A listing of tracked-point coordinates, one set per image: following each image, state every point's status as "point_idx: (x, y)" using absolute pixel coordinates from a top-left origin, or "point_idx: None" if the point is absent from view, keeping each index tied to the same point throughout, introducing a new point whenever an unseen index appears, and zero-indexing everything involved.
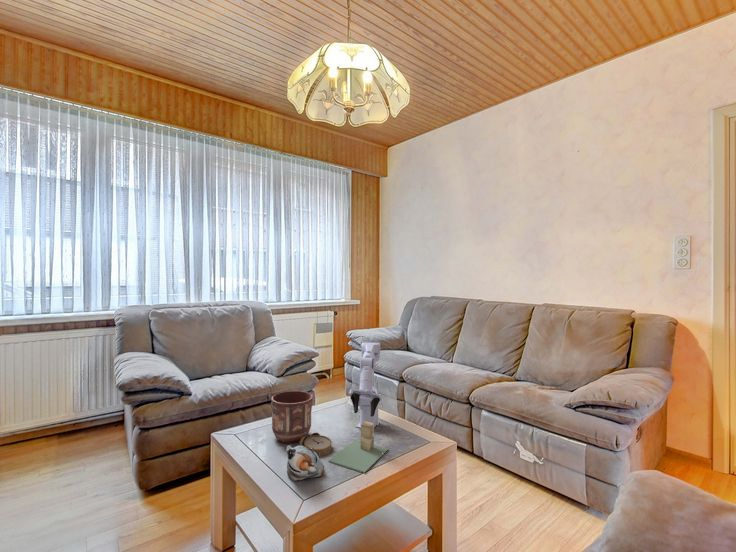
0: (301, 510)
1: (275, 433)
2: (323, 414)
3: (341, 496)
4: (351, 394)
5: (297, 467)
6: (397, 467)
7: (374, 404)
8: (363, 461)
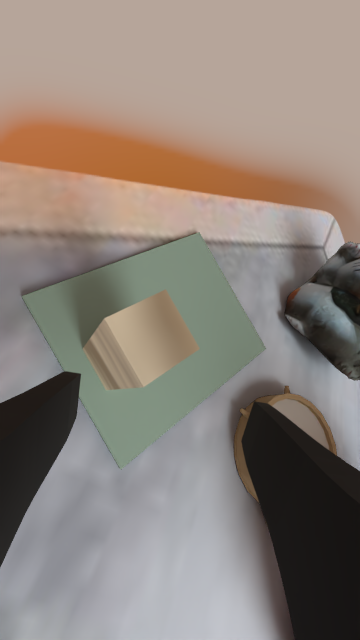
0: (327, 227)
1: None
2: None
3: (269, 208)
4: None
5: None
6: (86, 188)
7: (10, 435)
8: (177, 279)
